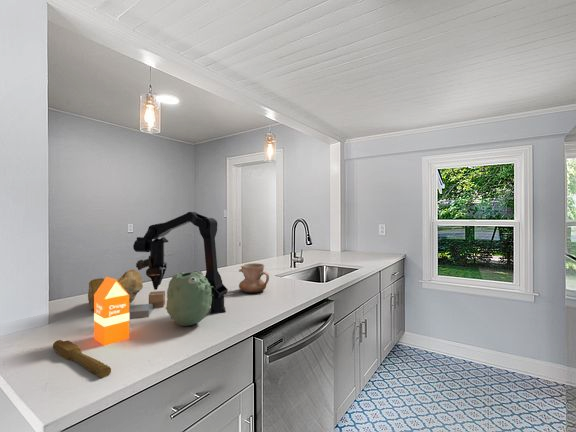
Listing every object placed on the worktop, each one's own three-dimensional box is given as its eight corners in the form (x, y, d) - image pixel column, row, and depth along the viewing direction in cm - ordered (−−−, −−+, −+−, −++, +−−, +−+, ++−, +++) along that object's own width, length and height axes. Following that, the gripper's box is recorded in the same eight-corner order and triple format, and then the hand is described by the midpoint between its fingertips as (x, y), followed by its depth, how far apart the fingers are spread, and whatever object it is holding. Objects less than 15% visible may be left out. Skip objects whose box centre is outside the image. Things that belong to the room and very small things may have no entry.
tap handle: (99, 369, 76) (50, 340, 93) (99, 381, 76) (50, 350, 93) (112, 364, 79) (62, 337, 95) (111, 375, 79) (62, 347, 95)
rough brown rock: (127, 297, 154) (125, 268, 154) (147, 299, 145) (145, 268, 146) (76, 311, 134) (73, 277, 134) (96, 314, 126) (93, 278, 126)
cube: (163, 307, 135) (163, 294, 135) (148, 308, 134) (148, 294, 134) (165, 303, 141) (165, 290, 141) (150, 304, 139) (150, 291, 139)
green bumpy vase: (183, 314, 125) (183, 266, 125) (222, 321, 118) (222, 269, 118) (153, 328, 111) (153, 272, 110) (195, 336, 103) (195, 277, 103)
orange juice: (118, 331, 107) (118, 274, 107) (129, 338, 101) (129, 278, 101) (93, 338, 101) (93, 278, 101) (103, 346, 95) (103, 282, 95)
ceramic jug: (231, 292, 161) (231, 265, 161) (246, 286, 174) (246, 261, 174) (261, 297, 154) (261, 269, 153) (274, 290, 167) (274, 264, 167)
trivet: (148, 316, 123) (148, 310, 123) (121, 319, 120) (121, 312, 120) (152, 309, 132) (152, 303, 132) (127, 311, 130) (127, 305, 130)
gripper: (141, 250, 144) (141, 283, 144) (132, 255, 126) (132, 293, 126) (167, 250, 147) (167, 282, 147) (161, 254, 129) (161, 291, 129)
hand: (157, 287), depth 137 cm, fingers open, 9 cm apart
